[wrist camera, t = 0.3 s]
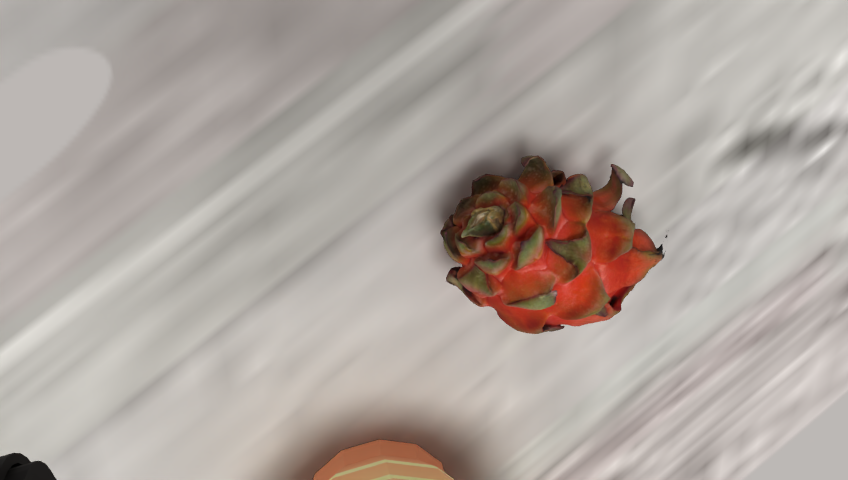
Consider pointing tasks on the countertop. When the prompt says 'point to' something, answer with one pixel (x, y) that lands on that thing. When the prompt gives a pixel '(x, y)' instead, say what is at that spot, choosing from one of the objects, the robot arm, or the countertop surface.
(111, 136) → the countertop surface
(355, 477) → the potted cactus
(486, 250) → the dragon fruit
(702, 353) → the countertop surface
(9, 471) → the robot arm
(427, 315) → the countertop surface
